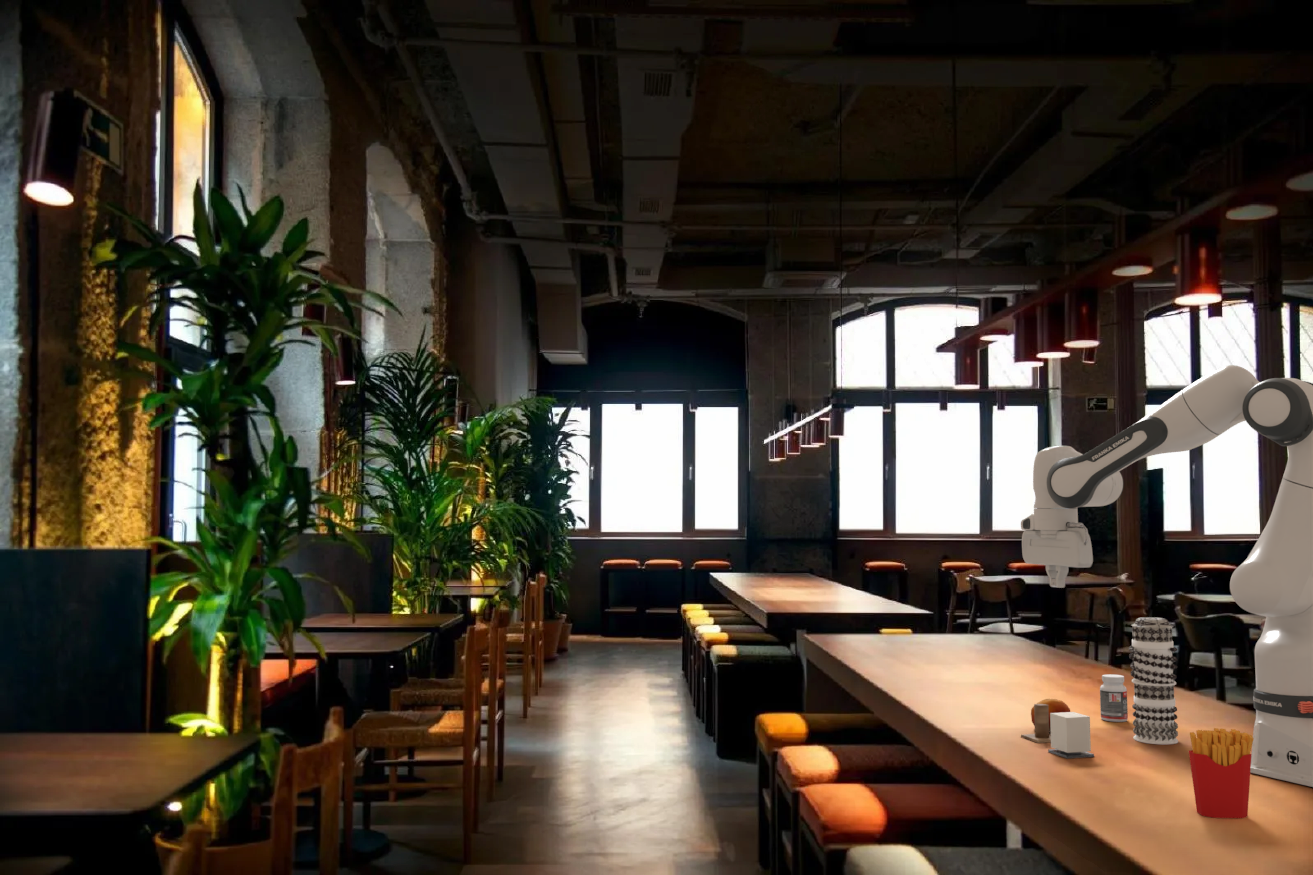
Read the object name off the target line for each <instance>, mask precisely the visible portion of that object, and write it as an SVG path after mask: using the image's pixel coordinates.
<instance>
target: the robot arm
mask: <svg viewBox="0 0 1313 875" xmlns="http://www.w3.org/2000/svg"><path fill="white" fill-rule="evenodd" d="M1243 422H1246V423H1247V424H1248V425H1249V427H1250V428H1251V429H1253V430H1254V431H1255V432H1257V433H1258V434H1259V435H1262V436H1264V437H1266V438H1267V439H1269V440H1271V441H1272V442H1275V443H1276V444H1278V445H1279V446H1281V447H1287V450H1288V456H1287V462H1286V464H1285V470H1284V473H1283V476H1282V479H1281V482H1280V484H1279V488H1278V492H1277V494H1276V497H1275V500H1274V501H1275V502H1274V504H1273V507H1272V511H1271V513H1270V516H1269V519H1268V521H1267V522H1266V525H1265V527H1264V529H1263V530H1262V531H1261V534H1260V536H1259V537H1258V539H1257V540H1256V542H1255V544H1254V546H1253V547H1252V549H1251V550H1250V552H1249V553H1248V555H1247V558H1246V559H1245V560H1244V561H1243V562H1241V564H1240V565H1238V566H1237V567H1236V569H1234V571H1233V572H1232V574H1231V577H1230V581H1229V592H1230V595H1231V596H1232V599H1233V601H1234V602H1235V603H1236V604H1237V606H1239V607H1240V609H1242V610H1244V611H1246V612H1248V613H1250V614H1253V615H1257V616H1260V617H1265V621H1264V625H1263V629H1262V632H1261V635H1260V636H1259V639H1258V640H1257V642H1256V643H1255V646H1254V668H1255V669H1254V670H1255V688H1254V689H1253V696H1252V700H1253V708H1254V709H1255V712H1256V713H1255V720H1254V724H1253V731H1252V737H1253V738H1254V739H1253V743H1252V747H1251V752H1250V754H1252V755H1251V770H1250V774H1255V775H1260V776H1264V777H1268V778H1272V779H1277V780H1281V781H1286V782H1290V783H1294V784H1298V785H1302V786H1307V787H1312V788H1313V382H1309V381H1306V380H1301V379H1298V378H1294V377H1274V378H1268V379H1264V380H1263V381H1259V379H1257V378H1256V376H1254V375H1253V374H1252V372H1250V371H1249V370H1248V369H1245V368H1244V367H1241V366H1238V365H1235V364H1234V365H1233V364H1232V365H1231V364H1230V365H1225V366H1223V367H1221V368H1218V369H1216V370H1214V371H1212V372H1210V373H1208V374H1206V375H1204V376H1202V377H1200V378H1199V379H1197V380H1195V381H1194V382H1192V383H1190V384H1188V385H1186V387H1184V388H1182V389H1181V390H1180V391H1178V392H1177V393H1175V394H1174V395H1173V396H1172V397H1169V398H1168V399H1167V400H1166V401H1164V402H1163V403H1162V404H1161V405H1159V406H1158V407H1156V408H1155V409H1154V410H1152V411H1151V412H1149V413H1148V414H1146V415H1144V417H1142V418H1141V419H1139V420H1138V421H1137V422H1135V423H1133V424H1132V425H1130V426H1129V427H1127V428H1125V429H1123V430H1122V431H1120V432H1119V433H1117V434H1115V435H1114V436H1112V437H1110V438H1109V439H1107V440H1105V441H1103V442H1102V443H1100V444H1098V446H1096V447H1093V449H1091V450H1089V451H1088V452H1085V453H1081V452H1079V451H1077V450H1076V449H1075V448H1074V447H1072V446H1070V445H1057V446H1049V447H1048V446H1047V447H1045V448H1044V449H1041V450H1040V451H1038V452H1037V453H1036V455H1035V458H1034V461H1033V472H1032V473H1033V475H1032V486H1033V491H1034V497H1035V500H1034V504H1033V513H1031V514H1030V515H1029V516H1027V517H1025V518H1024V519H1022V520H1021V521H1020V529H1021V530H1022V531H1023V532H1022V534H1021V553H1022V554H1021V555H1022V558H1023V560H1024V563H1025V564H1031V565H1044V566H1045V571H1046V574H1047V577H1048V579H1049V586H1050V587H1051V588H1059V589H1060V588H1061V589H1062V588H1063V589H1064V588H1065V587H1066V578H1067V576H1068V574H1069V568H1079V569H1080V568H1091V567H1092V566H1093V562H1094V555H1093V547H1092V546H1093V544H1092V541H1091V536H1090V534H1089V530H1088V528H1087V527H1086V526H1085V525H1084V523H1083V522H1079V515H1078V514H1079V512H1078V508H1086V507H1104V506H1108V505H1111V504H1113V503H1115V502H1117V501H1118V499H1119V498H1120V496H1121V495H1122V492H1123V490H1124V477H1123V475H1122V473H1121V471H1122V470H1124V469H1126V468H1127V467H1130V465H1132V464H1134V463H1136V462H1137V461H1140V460H1142V459H1144V458H1148V457H1150V456H1151V457H1153V456H1156V455H1161V454H1169V453H1179V452H1180V453H1181V452H1186V451H1191V450H1192V449H1193V450H1194V449H1196V448H1198V447H1200V446H1202V445H1204V444H1207V443H1209V442H1211V441H1213V440H1215V439H1216V438H1217V437H1218V436H1221V435H1222V434H1224V433H1225V432H1227V431H1229V430H1230V429H1231V428H1232V427H1234V426H1237V425H1238V424H1241V423H1243Z"/></svg>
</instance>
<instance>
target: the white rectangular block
mask: <svg viewBox="0 0 1313 875" xmlns="http://www.w3.org/2000/svg"><path fill="white" fill-rule="evenodd" d="M1050 725H1051V732H1050V735H1051V742H1050V748H1052V749H1058V750H1061V751H1064V752H1066V753H1072V752H1091V750H1092V749H1091V748H1092V747H1091V746H1092V745H1091V716H1089V715H1086V714H1082V713H1080V712H1075V711H1070V712H1061V713H1050Z"/></svg>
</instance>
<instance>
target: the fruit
mask: <svg viewBox="0 0 1313 875" xmlns="http://www.w3.org/2000/svg"><path fill="white" fill-rule="evenodd" d="M1036 704H1046V705H1048V711H1049V733H1051V725H1050V713H1061V712H1071V708H1070V707H1069V705H1067V704H1066V703H1065V702H1064V701H1062V700H1059V699H1056V698H1045V699H1042V700H1041V701H1039V702H1037V703H1036ZM1030 717H1031V723H1032V724H1033V727H1035V719H1034V705H1033V706H1032V707H1031V709H1030Z"/></svg>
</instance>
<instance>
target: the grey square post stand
mask: <svg viewBox="0 0 1313 875" xmlns="http://www.w3.org/2000/svg"><path fill="white" fill-rule="evenodd" d="M1047 751H1048V752H1047V753H1050V754H1053V755H1055V756H1058V757H1061V758H1064V759H1066V760H1067V759H1079V758H1081V759H1082V758H1093V757H1095V754H1094V753H1092V752H1090V751H1087V752H1072V753H1066V752H1064V751H1061V750H1058V749H1055V748H1052V749H1051V748H1050V749H1049V748H1048V749H1047Z"/></svg>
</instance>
